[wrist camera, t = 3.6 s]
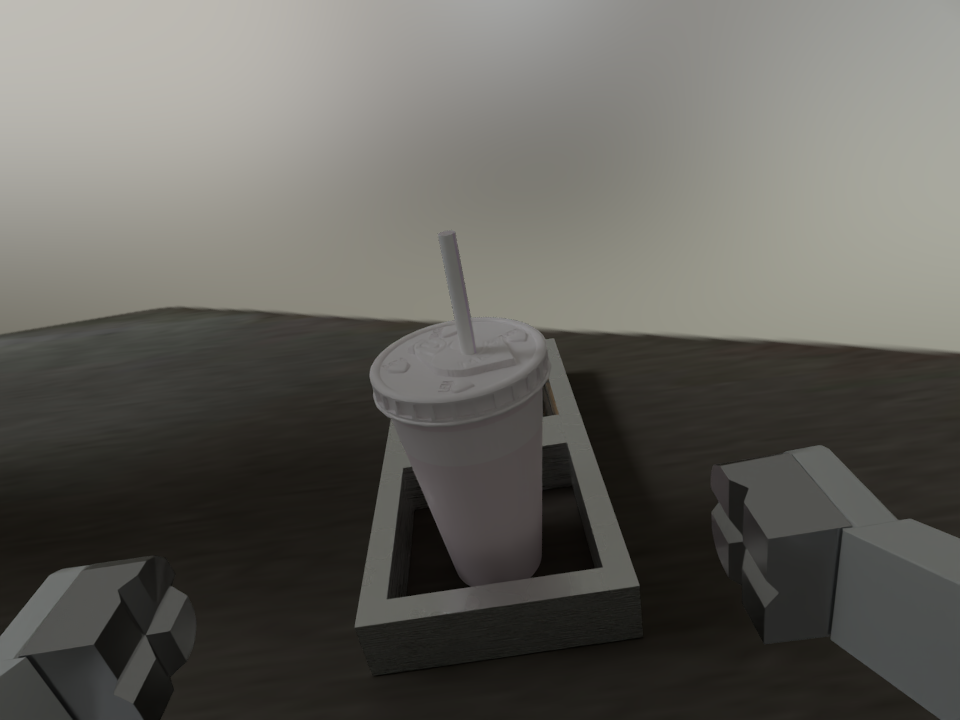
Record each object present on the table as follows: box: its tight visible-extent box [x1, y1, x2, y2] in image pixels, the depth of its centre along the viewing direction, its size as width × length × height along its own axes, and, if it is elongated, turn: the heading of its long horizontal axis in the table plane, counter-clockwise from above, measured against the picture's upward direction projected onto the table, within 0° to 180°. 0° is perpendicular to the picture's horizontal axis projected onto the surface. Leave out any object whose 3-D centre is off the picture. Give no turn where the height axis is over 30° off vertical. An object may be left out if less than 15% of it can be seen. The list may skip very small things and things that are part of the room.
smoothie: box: [369, 230, 551, 587], centre depth 23 cm, size 6×6×14 cm
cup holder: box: [354, 338, 643, 676], centre depth 30 cm, size 10×20×2 cm, turn 2°
